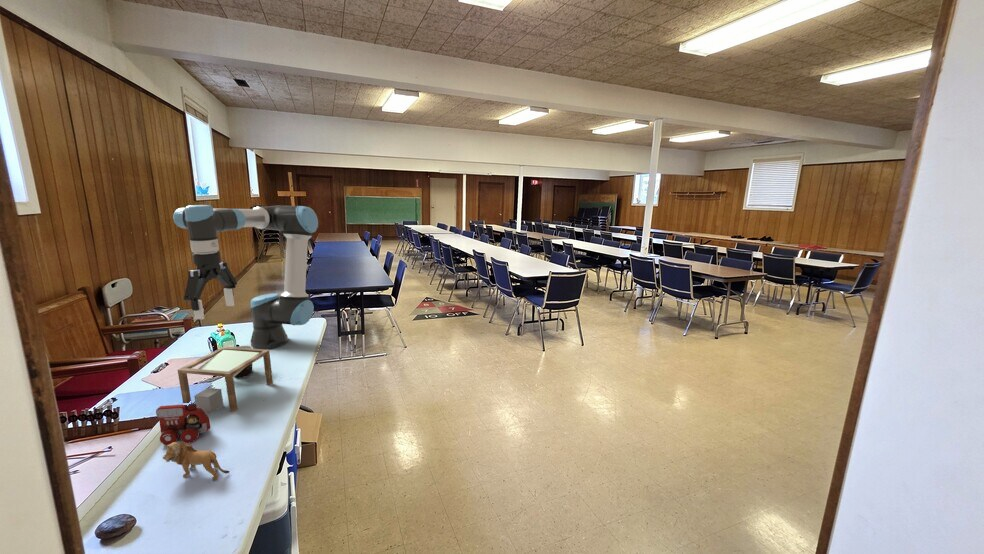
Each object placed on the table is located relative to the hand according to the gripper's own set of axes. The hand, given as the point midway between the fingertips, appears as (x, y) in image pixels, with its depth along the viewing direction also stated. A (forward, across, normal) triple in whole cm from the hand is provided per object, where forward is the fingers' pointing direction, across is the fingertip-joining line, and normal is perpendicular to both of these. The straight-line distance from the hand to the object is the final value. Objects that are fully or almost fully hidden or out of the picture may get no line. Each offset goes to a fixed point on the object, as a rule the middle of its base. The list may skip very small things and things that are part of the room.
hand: (215, 312), depth 131 cm
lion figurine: (+28, -42, -25) cm, 56 cm away
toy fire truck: (+28, -28, -9) cm, 41 cm away
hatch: (+18, -4, -5) cm, 19 cm away
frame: (+29, -5, -5) cm, 30 cm away
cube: (+23, -14, -5) cm, 27 cm away
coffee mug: (+29, +11, +2) cm, 32 cm away
